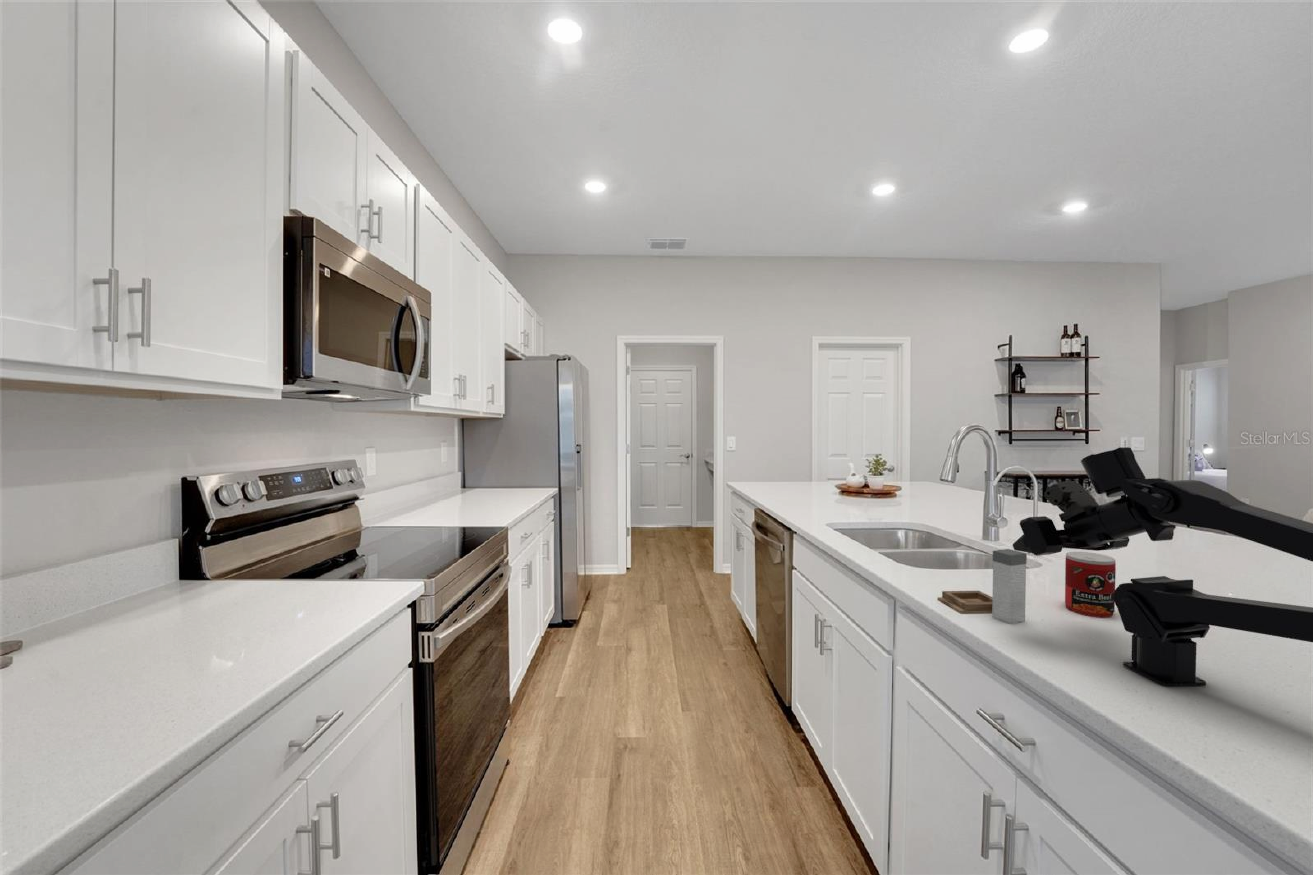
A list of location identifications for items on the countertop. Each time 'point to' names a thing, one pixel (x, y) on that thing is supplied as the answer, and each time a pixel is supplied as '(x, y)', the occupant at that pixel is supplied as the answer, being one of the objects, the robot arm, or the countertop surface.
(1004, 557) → the grey dark-topped prism
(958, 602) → the brown square tray
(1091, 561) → the canned food
